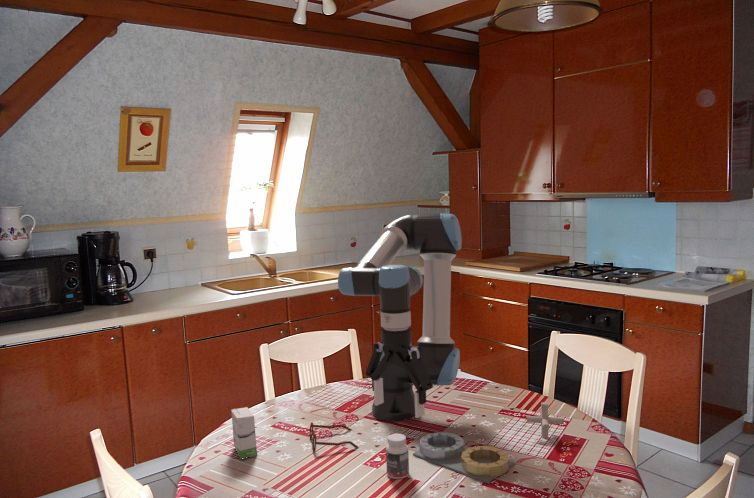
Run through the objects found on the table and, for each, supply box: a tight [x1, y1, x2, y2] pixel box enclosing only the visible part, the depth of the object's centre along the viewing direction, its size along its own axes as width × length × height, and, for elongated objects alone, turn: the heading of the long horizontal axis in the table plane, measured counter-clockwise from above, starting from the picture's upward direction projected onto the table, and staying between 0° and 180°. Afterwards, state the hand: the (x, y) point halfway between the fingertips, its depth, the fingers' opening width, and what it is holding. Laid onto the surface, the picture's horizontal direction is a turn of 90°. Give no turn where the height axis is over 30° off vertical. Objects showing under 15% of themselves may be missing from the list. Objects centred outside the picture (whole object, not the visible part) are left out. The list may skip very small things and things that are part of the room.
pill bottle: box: [385, 433, 410, 480], centre depth 151 cm, size 6×6×10 cm
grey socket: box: [419, 431, 465, 461], centre depth 162 cm, size 12×12×2 cm
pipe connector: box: [526, 401, 564, 439], centre depth 169 cm, size 10×10×10 cm
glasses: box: [308, 422, 360, 453], centre depth 172 cm, size 13×13×5 cm
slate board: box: [412, 444, 516, 484], centre depth 158 cm, size 24×13×1 cm, turn 46°
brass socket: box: [461, 445, 509, 477], centre depth 153 cm, size 12×12×2 cm
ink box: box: [231, 406, 258, 460], centre depth 167 cm, size 9×5×12 cm, turn 26°
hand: (398, 409), depth 149 cm, fingers open, 13 cm apart
